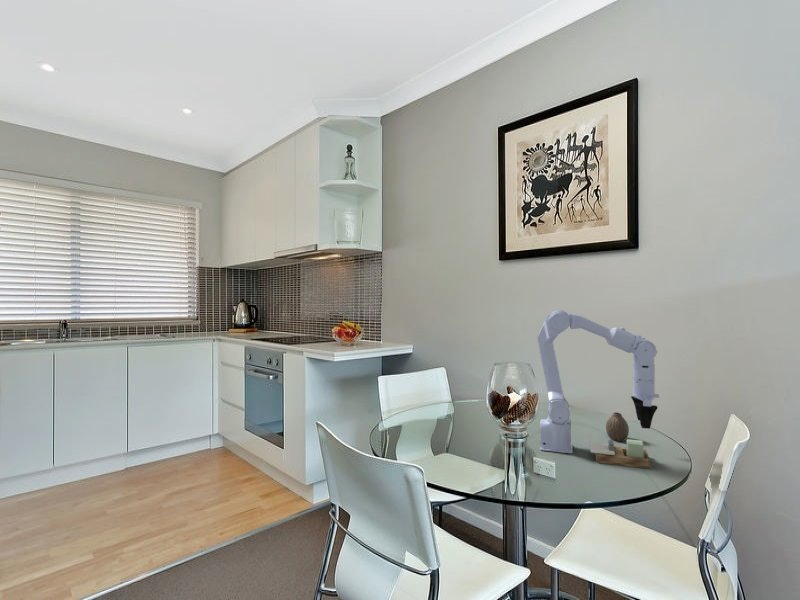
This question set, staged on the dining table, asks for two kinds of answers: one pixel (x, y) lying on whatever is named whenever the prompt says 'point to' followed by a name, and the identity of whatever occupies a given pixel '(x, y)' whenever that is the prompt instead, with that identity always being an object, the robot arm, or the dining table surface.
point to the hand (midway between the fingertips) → (643, 424)
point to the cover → (602, 447)
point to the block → (635, 448)
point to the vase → (617, 427)
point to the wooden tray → (624, 458)
